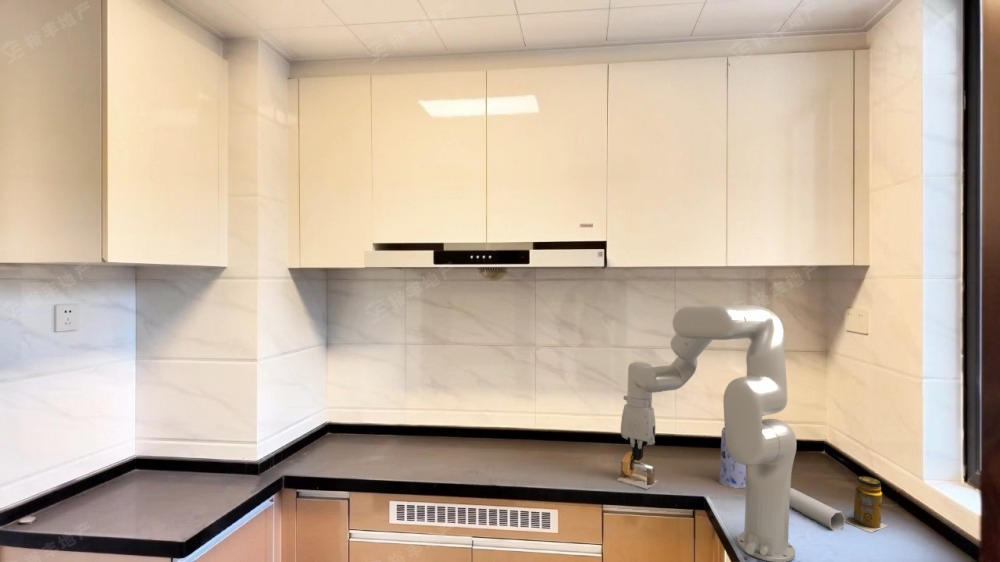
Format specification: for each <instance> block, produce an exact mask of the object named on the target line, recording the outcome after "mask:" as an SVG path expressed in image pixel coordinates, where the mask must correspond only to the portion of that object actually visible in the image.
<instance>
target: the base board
mask: <svg viewBox="0 0 1000 562" xmlns="http://www.w3.org/2000/svg"><path fill="white" fill-rule="evenodd" d="M620 464H621V465H620V476H619V477H618V478H617V479H616V481H617V480H619V481H623V482H636V481H643V482H645V481H646V482H647V485H652V484H654V482H657V481H658V480H657V479H655V475H656V474H655V473H656V471H655V470H656V467H655V466H654V471H653V472H654V473H653V474H652V473H651V469H647V473H646V476H643V475H639V474H636V473H634V474H632V475H631V476H629V475H625V473H624V472H623V470H622V469H623V461H622V460H621V462H620ZM619 481H618V482H619ZM657 483H658V482H657Z"/></svg>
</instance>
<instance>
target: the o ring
mask: <svg viewBox="0 0 1000 562" xmlns="http://www.w3.org/2000/svg"><path fill="white" fill-rule="evenodd" d="M623 458H624V460H623V469H622V470H623V472H624V473H625V475H629V476H631V475H632V474H635V472H636V471H637V470H636V469H630V462H631V460H632V459H633V456H632V451H629V452H627V453H625V455H624V457H623ZM635 461H636V460H635ZM636 462H638V461H636Z"/></svg>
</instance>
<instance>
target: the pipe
mask: <svg viewBox="0 0 1000 562" xmlns="http://www.w3.org/2000/svg"><path fill="white" fill-rule="evenodd" d="M623 460H624V457H623V458H622V460H621V461H623ZM654 467H655V466H653V465H650V464H646V463H643V462H640V461H637V462H636V461H635V460H633V459H632V460H631V462H630V469H636V470H635V471H639V472H643V473H646V474H647V469H651V473H652V474H653V473H654V472H653V471H654Z"/></svg>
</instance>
